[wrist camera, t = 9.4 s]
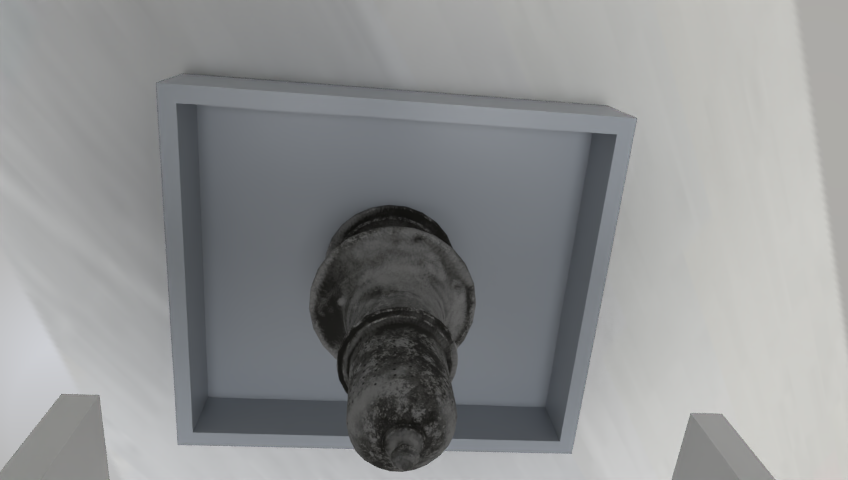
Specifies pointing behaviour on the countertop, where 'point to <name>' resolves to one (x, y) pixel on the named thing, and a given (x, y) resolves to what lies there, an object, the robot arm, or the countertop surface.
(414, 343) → the salt shaker
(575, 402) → the tray
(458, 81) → the countertop surface
